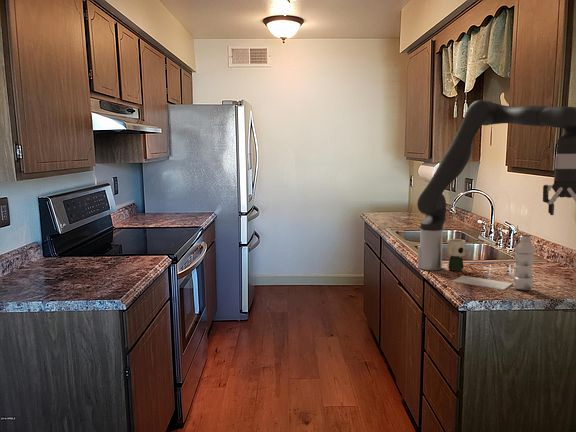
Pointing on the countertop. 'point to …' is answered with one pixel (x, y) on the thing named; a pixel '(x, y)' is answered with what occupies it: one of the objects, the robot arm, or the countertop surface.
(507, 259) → the countertop surface
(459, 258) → the character mug
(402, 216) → the countertop surface
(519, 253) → the plastic bottle
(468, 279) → the mat
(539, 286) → the countertop surface
